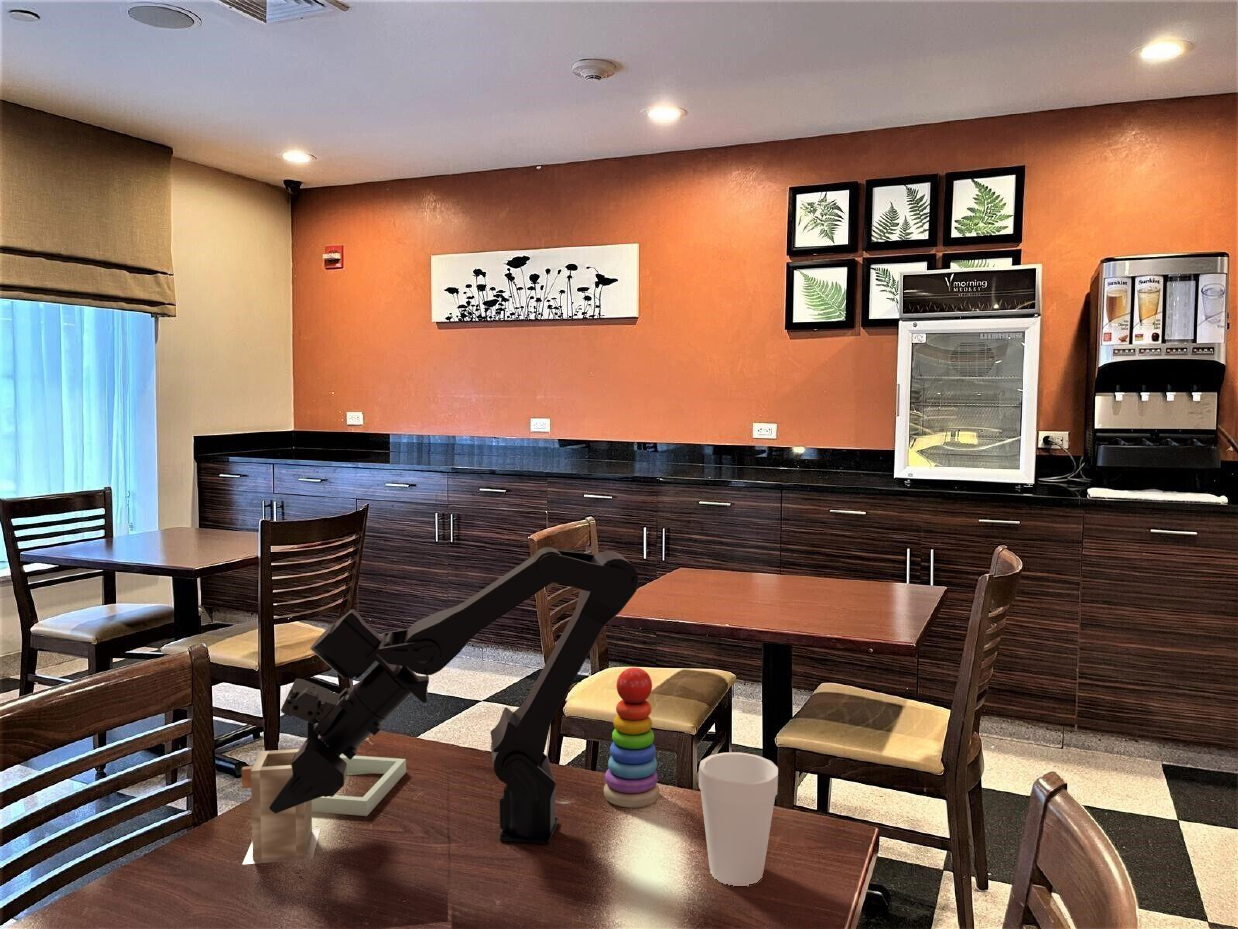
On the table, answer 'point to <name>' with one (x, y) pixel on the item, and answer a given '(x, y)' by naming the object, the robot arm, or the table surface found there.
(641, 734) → the stacking toy
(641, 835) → the table surface
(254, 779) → the birch sleeve
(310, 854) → the stand
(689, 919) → the table surface
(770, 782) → the foam cup
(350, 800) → the green tray
